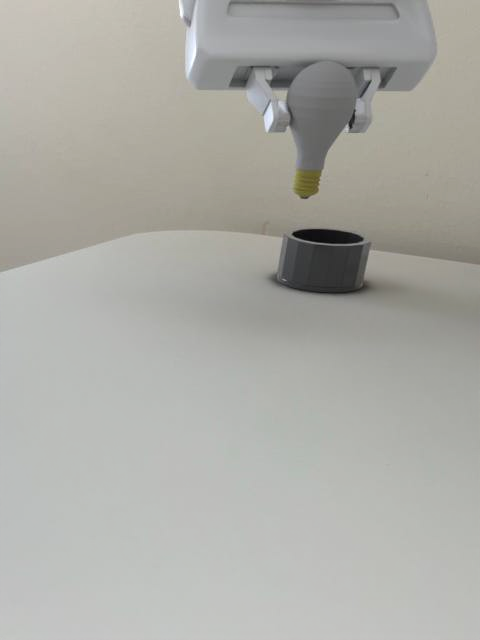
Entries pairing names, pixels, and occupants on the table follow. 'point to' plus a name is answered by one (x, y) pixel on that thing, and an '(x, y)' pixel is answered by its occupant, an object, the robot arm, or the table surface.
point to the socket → (323, 259)
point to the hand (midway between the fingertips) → (319, 127)
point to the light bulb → (318, 118)
